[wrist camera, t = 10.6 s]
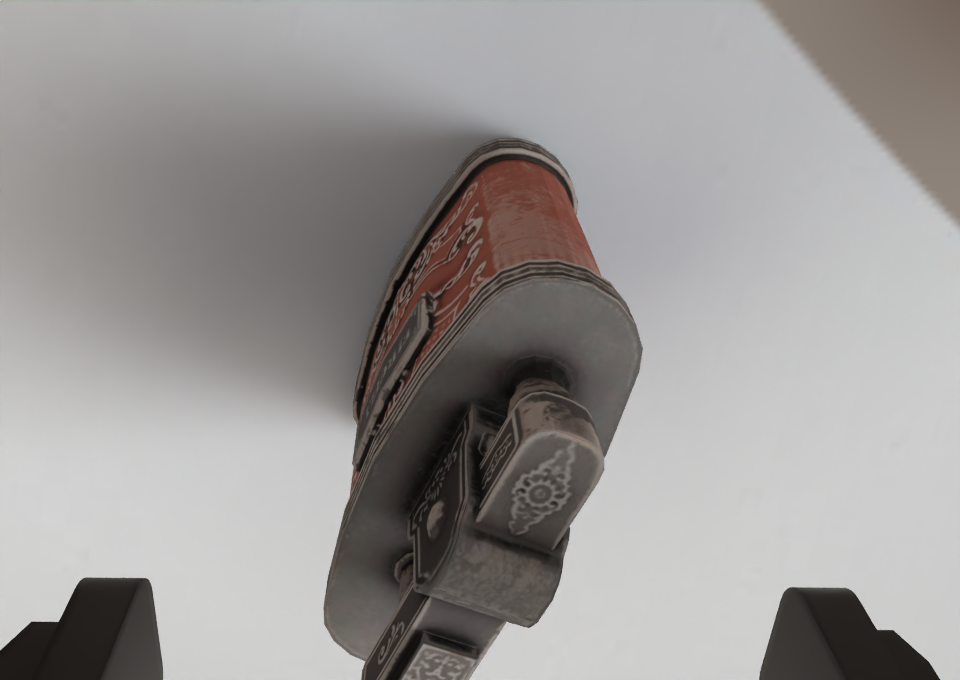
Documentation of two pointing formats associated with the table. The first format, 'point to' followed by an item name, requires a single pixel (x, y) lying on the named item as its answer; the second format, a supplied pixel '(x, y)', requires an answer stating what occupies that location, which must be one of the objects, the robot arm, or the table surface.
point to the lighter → (477, 420)
